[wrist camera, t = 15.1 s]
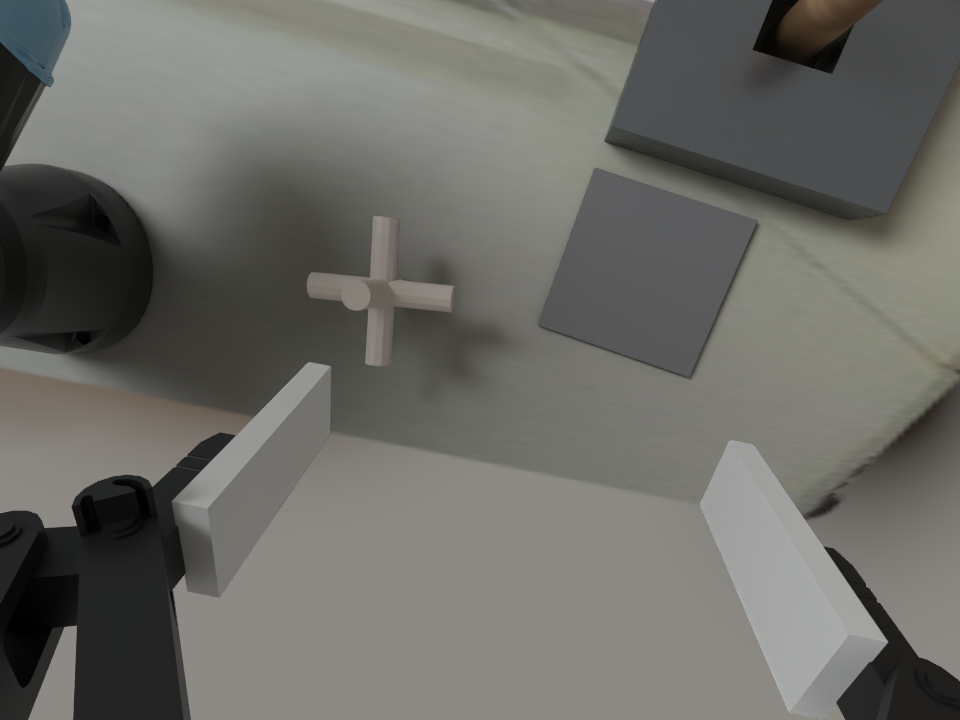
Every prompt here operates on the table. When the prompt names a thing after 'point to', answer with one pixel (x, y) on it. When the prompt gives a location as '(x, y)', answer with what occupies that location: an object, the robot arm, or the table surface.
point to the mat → (645, 271)
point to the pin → (813, 27)
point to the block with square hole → (790, 100)
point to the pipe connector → (381, 291)
